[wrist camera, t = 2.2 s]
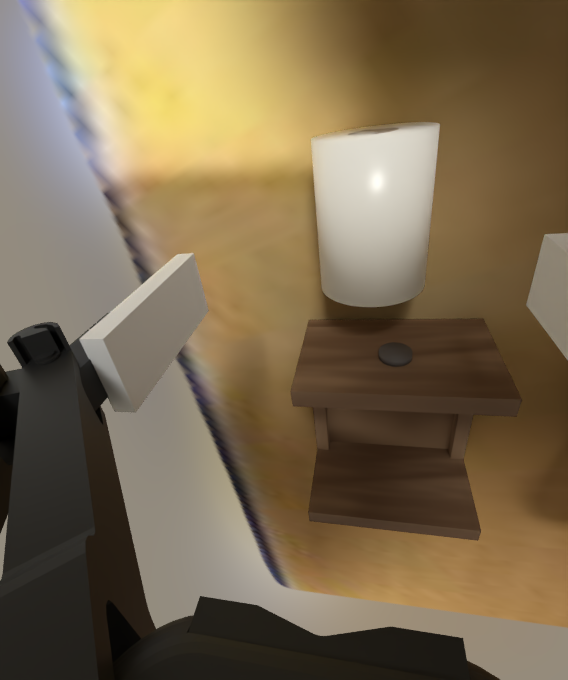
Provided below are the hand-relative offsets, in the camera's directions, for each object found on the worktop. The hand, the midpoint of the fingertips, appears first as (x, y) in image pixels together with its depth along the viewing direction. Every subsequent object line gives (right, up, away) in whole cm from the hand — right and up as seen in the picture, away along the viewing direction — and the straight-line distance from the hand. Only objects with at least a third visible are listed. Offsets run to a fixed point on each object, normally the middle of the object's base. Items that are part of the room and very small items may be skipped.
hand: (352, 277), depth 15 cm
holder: (+6, -7, +16) cm, 18 cm away
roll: (+2, +6, +8) cm, 10 cm away
